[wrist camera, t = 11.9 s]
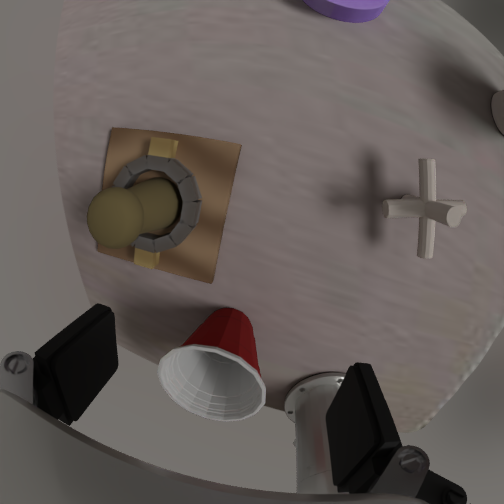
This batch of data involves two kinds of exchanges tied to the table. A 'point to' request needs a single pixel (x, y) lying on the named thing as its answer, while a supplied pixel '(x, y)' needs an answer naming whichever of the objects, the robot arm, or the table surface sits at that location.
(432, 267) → the table surface
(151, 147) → the socket
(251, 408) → the plastic cup
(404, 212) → the pipe connector
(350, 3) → the masking tape
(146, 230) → the olive knobbed peg
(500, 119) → the coffee cup
